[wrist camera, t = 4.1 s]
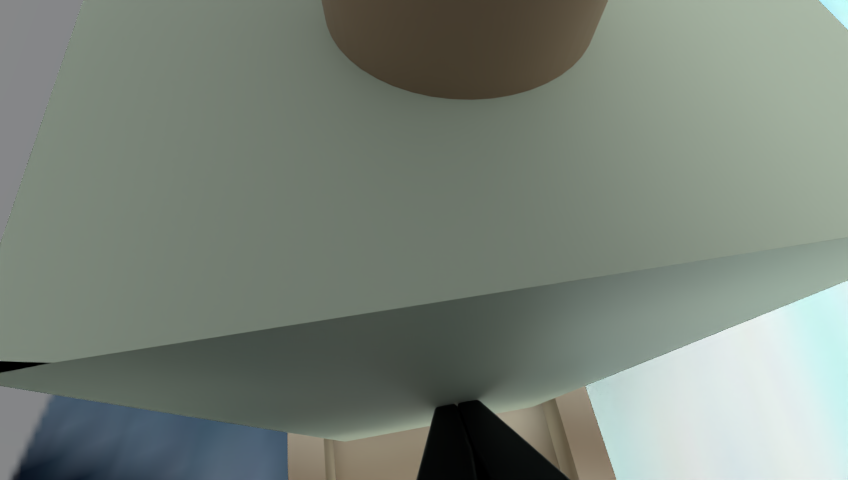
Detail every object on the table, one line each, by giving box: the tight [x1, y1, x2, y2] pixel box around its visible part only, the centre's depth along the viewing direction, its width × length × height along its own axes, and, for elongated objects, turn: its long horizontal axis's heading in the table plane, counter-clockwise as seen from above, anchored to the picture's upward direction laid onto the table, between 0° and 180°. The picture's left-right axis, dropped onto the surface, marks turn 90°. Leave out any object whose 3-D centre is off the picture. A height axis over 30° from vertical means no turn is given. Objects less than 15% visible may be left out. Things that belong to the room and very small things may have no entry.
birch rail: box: [287, 386, 616, 480], centre depth 15 cm, size 17×9×2 cm, turn 10°
